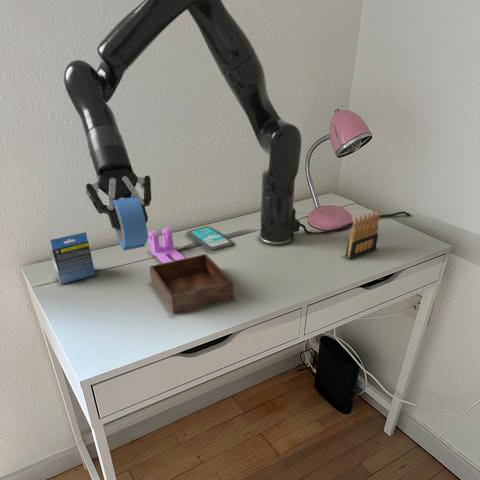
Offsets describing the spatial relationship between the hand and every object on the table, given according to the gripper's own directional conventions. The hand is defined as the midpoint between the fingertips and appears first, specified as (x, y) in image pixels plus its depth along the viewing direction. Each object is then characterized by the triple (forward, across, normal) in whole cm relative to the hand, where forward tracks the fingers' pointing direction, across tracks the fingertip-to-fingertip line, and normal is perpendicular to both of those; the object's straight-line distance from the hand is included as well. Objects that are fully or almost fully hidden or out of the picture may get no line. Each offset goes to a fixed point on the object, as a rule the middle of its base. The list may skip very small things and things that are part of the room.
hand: (131, 226), depth 96 cm
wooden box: (+13, +13, +16) cm, 24 cm away
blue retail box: (-1, -11, +30) cm, 32 cm away
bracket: (0, +14, +29) cm, 32 cm away
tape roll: (+2, 0, +5) cm, 5 cm away
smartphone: (-5, +29, +33) cm, 44 cm away
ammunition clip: (+14, +64, +14) cm, 67 cm away
